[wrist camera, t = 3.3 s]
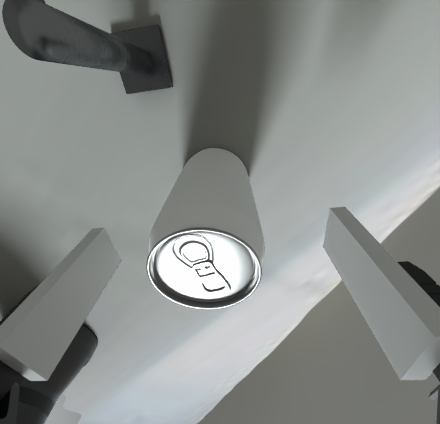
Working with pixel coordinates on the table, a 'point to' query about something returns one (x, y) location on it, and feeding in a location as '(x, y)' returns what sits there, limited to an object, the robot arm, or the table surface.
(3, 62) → the table surface
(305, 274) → the table surface
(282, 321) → the table surface
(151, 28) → the dark grey angled piece
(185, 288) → the can
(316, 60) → the table surface
